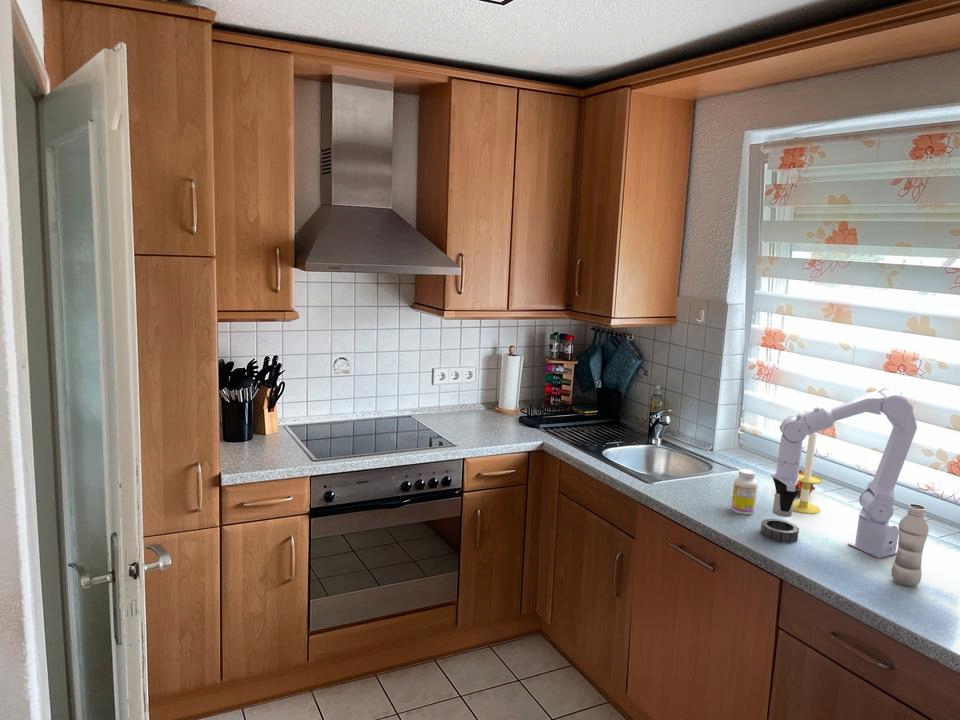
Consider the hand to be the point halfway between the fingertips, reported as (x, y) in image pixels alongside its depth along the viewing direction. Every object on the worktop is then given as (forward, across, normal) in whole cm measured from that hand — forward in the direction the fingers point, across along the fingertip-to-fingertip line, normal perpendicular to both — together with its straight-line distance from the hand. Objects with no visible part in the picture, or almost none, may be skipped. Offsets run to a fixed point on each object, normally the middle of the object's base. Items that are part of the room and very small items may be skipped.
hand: (782, 507), depth 201 cm
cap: (+2, 0, 0) cm, 2 cm away
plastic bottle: (+9, +21, +26) cm, 34 cm away
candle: (+9, -26, +11) cm, 30 cm away
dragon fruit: (+9, -39, +12) cm, 41 cm away
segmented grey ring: (+8, 0, 0) cm, 8 cm away
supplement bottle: (+9, -16, -8) cm, 20 cm away
